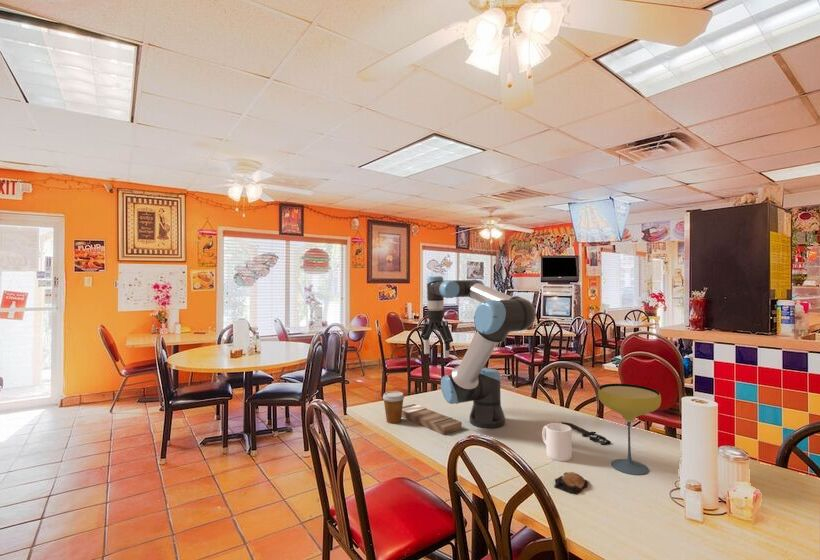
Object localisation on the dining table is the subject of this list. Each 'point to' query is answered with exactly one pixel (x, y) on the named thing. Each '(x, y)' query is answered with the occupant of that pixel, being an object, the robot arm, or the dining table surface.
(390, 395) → the disposable coffee cup
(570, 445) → the cup
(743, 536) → the dining table surface
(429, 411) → the walnut board
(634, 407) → the cocktail glass
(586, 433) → the knife
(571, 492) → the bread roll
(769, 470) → the dining table surface
